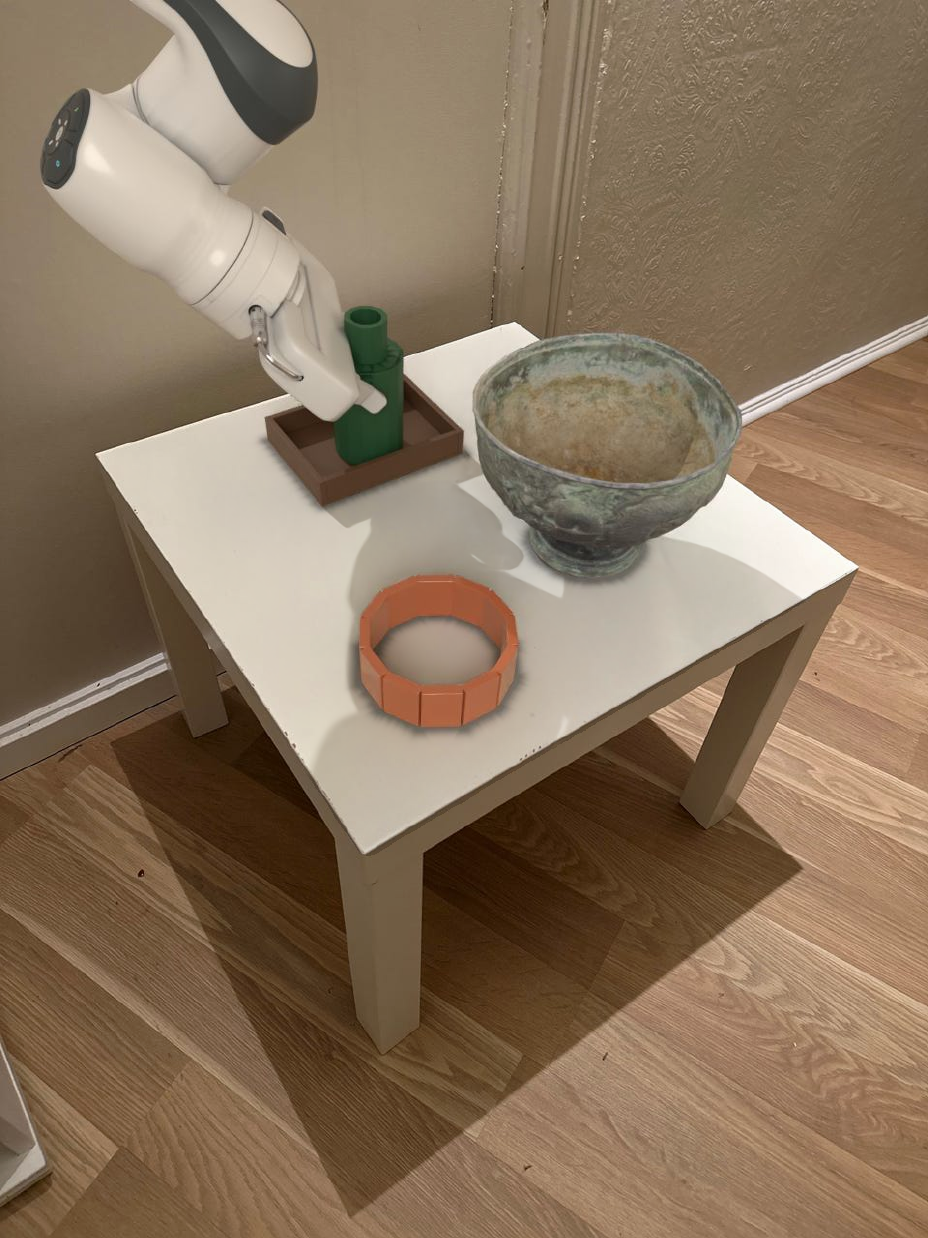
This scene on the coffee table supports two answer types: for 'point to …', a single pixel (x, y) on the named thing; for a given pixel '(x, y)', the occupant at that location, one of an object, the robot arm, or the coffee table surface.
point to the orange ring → (437, 600)
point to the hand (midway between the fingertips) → (374, 378)
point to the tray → (333, 478)
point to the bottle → (384, 366)
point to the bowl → (602, 444)
